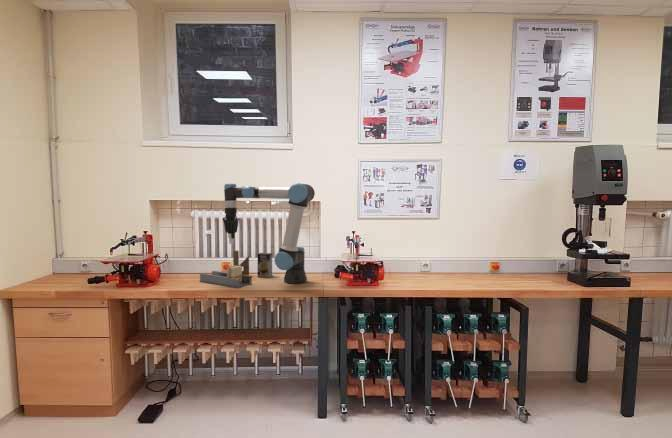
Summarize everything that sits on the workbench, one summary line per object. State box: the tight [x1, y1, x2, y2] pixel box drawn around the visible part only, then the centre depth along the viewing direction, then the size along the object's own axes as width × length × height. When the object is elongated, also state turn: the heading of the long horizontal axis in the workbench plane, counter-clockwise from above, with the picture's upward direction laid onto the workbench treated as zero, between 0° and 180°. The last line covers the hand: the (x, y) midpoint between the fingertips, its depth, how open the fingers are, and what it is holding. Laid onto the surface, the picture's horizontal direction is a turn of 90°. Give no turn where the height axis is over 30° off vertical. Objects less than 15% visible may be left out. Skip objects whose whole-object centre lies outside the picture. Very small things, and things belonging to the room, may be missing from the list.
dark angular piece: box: [232, 250, 250, 275], centre depth 257 cm, size 4×11×18 cm, turn 96°
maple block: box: [226, 265, 243, 282], centre depth 233 cm, size 6×7×10 cm
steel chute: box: [199, 270, 253, 289], centre depth 237 cm, size 34×12×5 cm, turn 60°
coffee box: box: [257, 252, 273, 278], centre depth 258 cm, size 9×6×16 cm
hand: (231, 243), depth 240 cm, fingers closed
